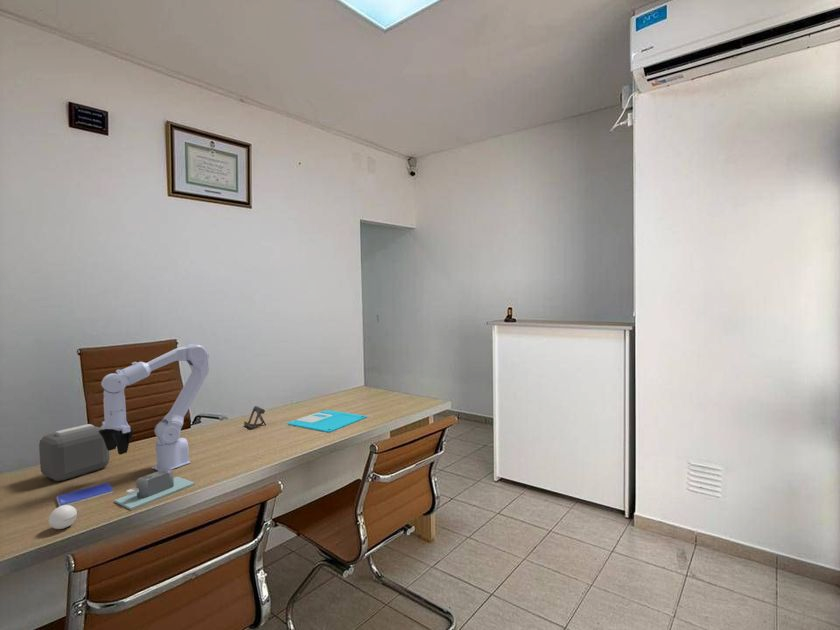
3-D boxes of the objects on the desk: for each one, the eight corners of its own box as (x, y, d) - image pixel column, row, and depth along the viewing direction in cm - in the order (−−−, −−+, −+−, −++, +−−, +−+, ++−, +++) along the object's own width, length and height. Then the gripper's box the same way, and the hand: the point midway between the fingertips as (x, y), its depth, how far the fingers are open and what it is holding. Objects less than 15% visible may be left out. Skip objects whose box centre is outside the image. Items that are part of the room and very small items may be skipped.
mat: (177, 478, 135) (177, 476, 135) (195, 484, 130) (194, 482, 130) (114, 502, 119) (114, 500, 119) (131, 510, 114) (131, 508, 114)
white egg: (56, 535, 102) (55, 513, 102) (44, 530, 105) (43, 509, 105) (91, 520, 109) (90, 499, 109) (79, 516, 112) (78, 496, 112)
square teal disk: (329, 433, 178) (329, 431, 178) (285, 425, 193) (285, 423, 192) (367, 418, 200) (367, 416, 200) (325, 411, 215) (325, 409, 215)
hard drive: (59, 504, 117) (113, 489, 126) (56, 495, 123) (107, 481, 131) (59, 509, 117) (113, 494, 126) (56, 500, 123) (108, 486, 132)
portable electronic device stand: (243, 426, 192) (243, 408, 192) (260, 422, 197) (260, 405, 197) (250, 430, 186) (249, 411, 185) (267, 426, 191) (267, 408, 191)
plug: (169, 483, 130) (168, 467, 130) (176, 485, 128) (175, 470, 127) (125, 500, 119) (124, 483, 119) (131, 503, 117) (130, 485, 117)
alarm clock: (98, 461, 152) (96, 420, 152) (113, 467, 146) (110, 424, 146) (41, 478, 138) (38, 432, 138) (54, 485, 132) (51, 437, 132)
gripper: (90, 411, 135) (92, 451, 135) (111, 416, 127) (113, 459, 128) (115, 406, 141) (117, 445, 141) (136, 410, 133) (138, 452, 134)
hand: (117, 451), depth 135 cm, fingers open, 7 cm apart
